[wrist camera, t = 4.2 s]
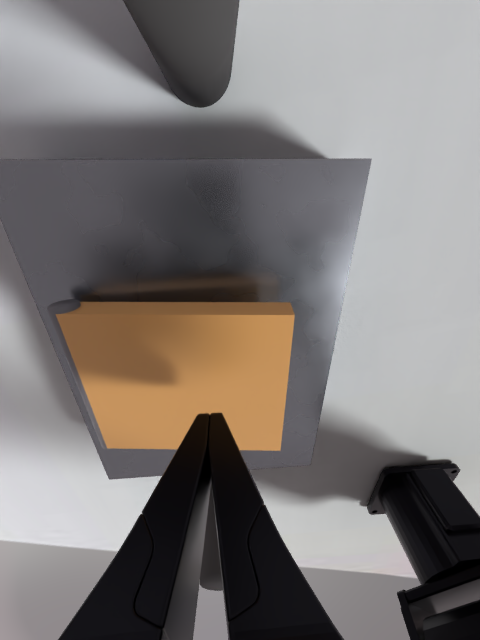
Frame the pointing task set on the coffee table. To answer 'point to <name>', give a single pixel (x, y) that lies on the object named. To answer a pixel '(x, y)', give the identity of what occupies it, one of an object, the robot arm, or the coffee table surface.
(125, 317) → the orange flat block
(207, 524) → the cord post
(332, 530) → the coffee table surface
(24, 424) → the coffee table surface
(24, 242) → the grey flat block
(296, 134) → the coffee table surface
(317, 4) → the coffee table surface
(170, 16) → the post
